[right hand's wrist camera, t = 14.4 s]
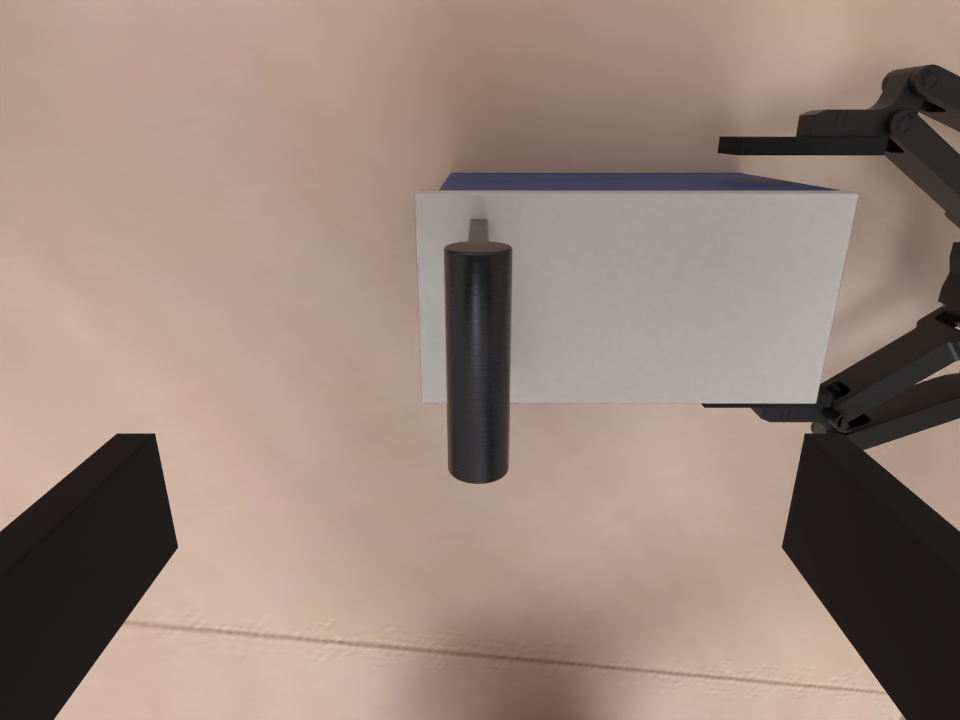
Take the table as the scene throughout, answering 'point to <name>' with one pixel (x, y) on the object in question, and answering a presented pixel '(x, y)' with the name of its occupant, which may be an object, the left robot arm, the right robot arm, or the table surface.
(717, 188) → the blue cabinet box
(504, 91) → the table surface
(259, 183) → the table surface
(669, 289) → the lid
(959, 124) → the left robot arm
